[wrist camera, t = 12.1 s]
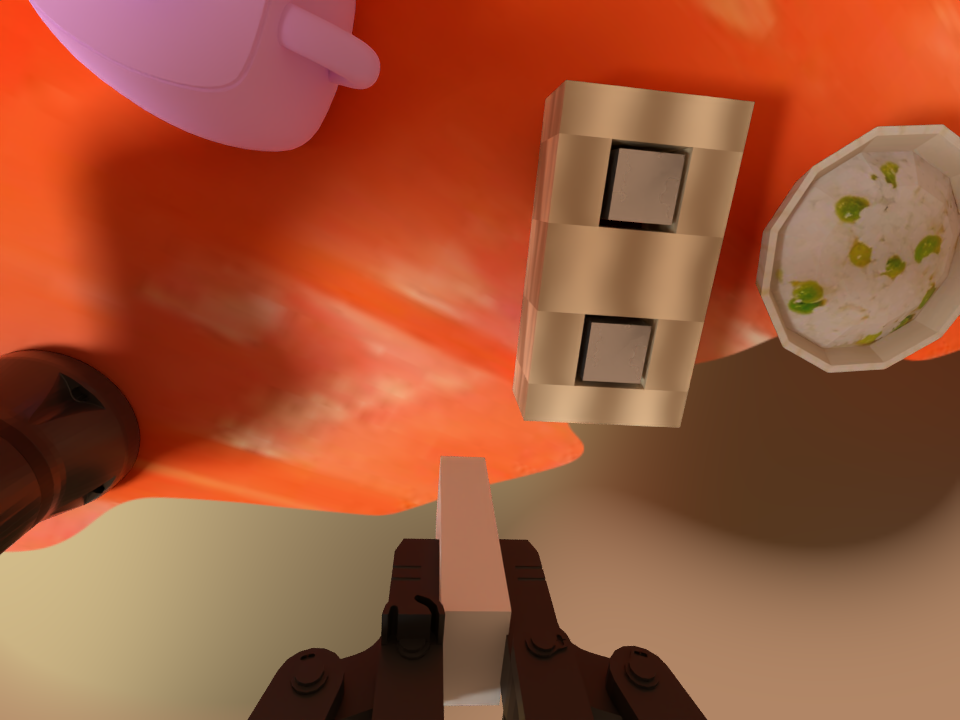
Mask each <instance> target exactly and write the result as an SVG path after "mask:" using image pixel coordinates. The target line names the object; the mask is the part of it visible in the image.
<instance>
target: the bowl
mask: <svg viewBox="0 0 960 720" xmlns="http://www.w3.org/2000/svg"><path fill="white" fill-rule="evenodd" d="M756 286H757V288H758V290H759V293H760V295H761V297H762V300H763V302H764V304H765V307H766V309H767V311H768V314H769V316H770V318H771V321H772V323H773V325H774V328H775V330H776V332H777V334H778V337H779V339H780V341H781V344H782V346H783V347H784V348H786V349H787V350H789V351H791V352H793V353H794V354H796V355H798V356H800V357H801V358H803V359H805V360H807V361H808V362H810V363H812V364H814V365H816V366H817V367H819V368H821V369H822V370H824V371H826V372H828V373H831V372H847V371H862V370H877V369H886V368H888V367H889V366H891V365H893V364H895V363H896V362H898V361H900V360H902V359H904V358H905V357H907V356H909V355H911V354H913V353H914V352H916V351H918V350H920V349H921V348H923V347H925V346H927V345H928V344H930V343H932V342H934V341H936V340H937V339H939V338H941V337H942V336H943V334H944V333H945V332H946V331H947V329H948V328H949V327H950V326H951V325H952V323H953V322H954V321H955V320H956V318H957V317H958V316H959V315H960V137H959V136H957V135H956V134H955V133H954V132H952V131H951V130H950V129H948V128H947V127H946V126H944V125H943V124H942V125H911V126H881V127H876V128H874V129H873V130H871V131H869V132H868V133H866V134H864V135H863V136H861V137H860V138H858V139H856V140H855V141H853V142H852V143H850V144H848V145H847V146H845V147H843V148H842V149H840V150H839V151H837V152H835V153H834V154H832V155H831V156H829V157H827V158H826V159H824V160H823V161H821V162H819V163H818V164H816V165H814V166H813V167H812V168H811V169H810V170H808V171H807V172H806V173H805V174H804V175H803V176H802V177H801V178H800V179H799V180H798V181H796V182H795V184H794V185H793V187H792V189H791V190H790V192H789V193H788V195H787V196H786V198H785V199H784V201H783V202H782V204H781V205H780V207H779V208H778V210H777V211H776V213H775V214H774V216H773V217H772V219H771V220H770V222H769V223H768V225H767V226H766V228H765V229H764V231H763V235H762V242H761V250H760V257H759V264H758V271H757V278H756Z"/></svg>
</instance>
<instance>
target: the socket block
mask: <svg viewBox="0 0 960 720" xmlns="http://www.w3.org/2000/svg"><path fill="white" fill-rule="evenodd" d="M754 103H755V102H752V101H743V100H734V99H726V98H717V97H709V96H700V95H691V94H683V93H674V92H666V91H657V90H648V89H640V88H631V87H623V86H614V85H605V84H597V83H588V82H580V81H571V80H565V81H564V82H563V83H562V84H561V85H560V86H559V87H558V88H557V89H556V90H555V91H554V92H552V93H551V94H550V95H549V96H548V97H547V98H546V99H545V108H544V116H543V125H542V134H541V143H540V152H539V161H538V170H537V178H536V187H535V196H534V205H533V214H532V223H531V231H530V240H529V249H528V258H527V267H526V276H525V285H524V293H523V302H522V311H521V320H520V329H519V338H518V346H517V355H516V364H515V373H514V382H513V393H514V395H515V398H516V401H517V403H518V406H519V409H520V411H521V414H522V417H523V419H524V421H545V422H568V423H591V424H612V425H635V426H657V427H680V424H681V420H682V415H683V411H684V407H685V402H686V398H687V394H688V389H689V385H690V381H691V376H692V372H693V368H694V363H695V359H696V355H697V350H698V346H699V342H700V337H701V333H702V329H703V324H704V320H705V316H706V311H707V307H708V303H709V298H710V294H711V290H712V285H713V281H714V277H715V272H716V268H717V264H718V259H719V255H720V251H721V246H722V242H723V238H724V233H725V229H726V225H727V220H728V216H729V212H730V207H731V203H732V199H733V194H734V190H735V186H736V181H737V177H738V173H739V168H740V164H741V160H742V155H743V151H744V147H745V142H746V138H747V134H748V129H749V125H750V121H751V116H752V112H753V108H754ZM619 148H622V149H632V150H642V151H651V152H661V153H671V154H681V155H685V159H684V164H683V169H682V174H681V179H680V184H679V189H678V195H677V200H676V205H675V210H674V215H673V220H672V225H663V224H652V223H642V226H641V228H632V227H620V226H609V225H599V220H600V214H601V207H602V201H603V194H604V188H605V181H606V175H607V168H608V162H609V155H610V151H611V150H615V149H619ZM585 314H591V315H606V316H621V317H635V318H638V319H640V320H642V321H643V322H645V323H647V324H648V325H650V326H651V331H650V336H649V341H648V346H647V351H646V356H645V362H644V367H643V372H642V377H641V382H640V384H638V383H620V382H601V381H583V380H582V379H581V378H580V376H579V375H578V374H577V373H576V370H577V363H578V357H579V350H580V344H581V337H582V331H583V324H584V318H585Z"/></svg>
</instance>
